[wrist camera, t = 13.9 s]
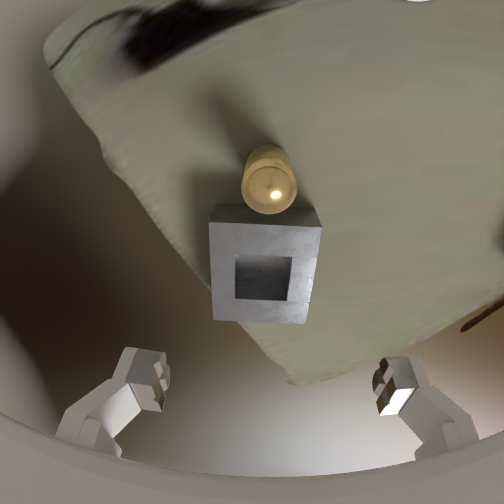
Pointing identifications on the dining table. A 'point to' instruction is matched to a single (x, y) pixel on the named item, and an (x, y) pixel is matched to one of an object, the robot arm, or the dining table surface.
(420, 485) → the robot arm
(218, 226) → the housing
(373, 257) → the dining table surface
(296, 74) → the dining table surface
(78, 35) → the dining table surface
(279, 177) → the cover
